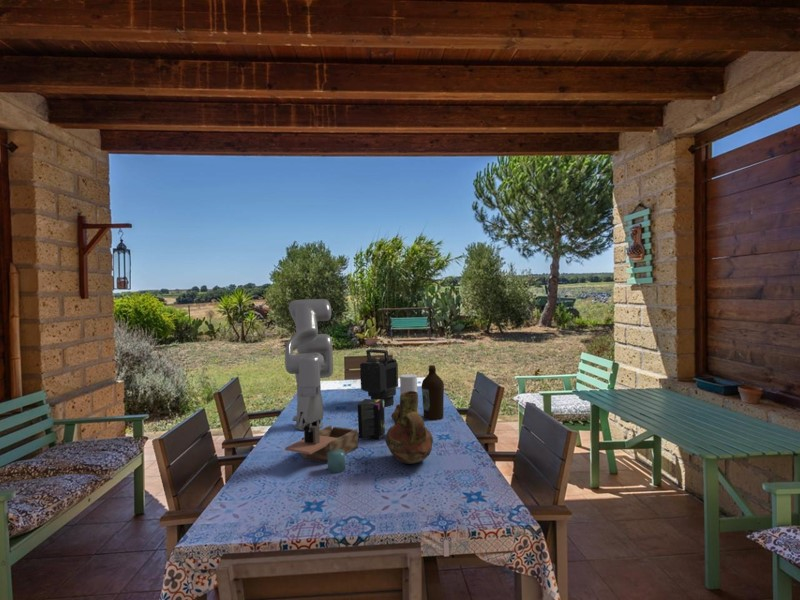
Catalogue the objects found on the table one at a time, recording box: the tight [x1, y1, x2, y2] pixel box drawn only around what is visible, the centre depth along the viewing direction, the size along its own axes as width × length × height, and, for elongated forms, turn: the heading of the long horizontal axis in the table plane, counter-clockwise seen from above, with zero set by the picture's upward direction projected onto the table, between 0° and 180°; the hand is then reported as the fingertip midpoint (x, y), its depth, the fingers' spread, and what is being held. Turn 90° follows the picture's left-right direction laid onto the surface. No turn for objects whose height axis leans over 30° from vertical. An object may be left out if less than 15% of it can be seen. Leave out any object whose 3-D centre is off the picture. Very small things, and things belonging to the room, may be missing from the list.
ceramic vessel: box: [385, 391, 434, 464], centre depth 167 cm, size 17×26×25 cm, turn 23°
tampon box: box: [357, 398, 386, 441], centre depth 197 cm, size 11×9×15 cm
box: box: [301, 424, 359, 464], centre depth 178 cm, size 18×13×7 cm
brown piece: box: [284, 425, 337, 454], centre depth 168 cm, size 16×11×7 cm
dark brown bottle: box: [421, 364, 445, 421], centre depth 222 cm, size 11×11×25 cm
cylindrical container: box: [399, 373, 419, 412], centre depth 197 cm, size 7×7×25 cm
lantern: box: [359, 348, 399, 408], centre depth 249 cm, size 15×18×30 cm
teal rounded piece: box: [327, 449, 346, 474], centre depth 161 cm, size 6×6×6 cm
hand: (311, 440), depth 168 cm, fingers closed on brown piece, 2 cm apart
